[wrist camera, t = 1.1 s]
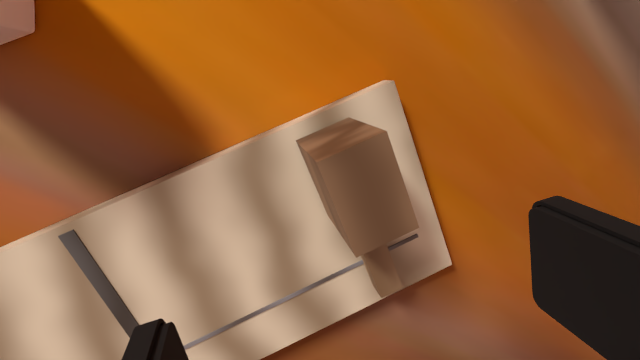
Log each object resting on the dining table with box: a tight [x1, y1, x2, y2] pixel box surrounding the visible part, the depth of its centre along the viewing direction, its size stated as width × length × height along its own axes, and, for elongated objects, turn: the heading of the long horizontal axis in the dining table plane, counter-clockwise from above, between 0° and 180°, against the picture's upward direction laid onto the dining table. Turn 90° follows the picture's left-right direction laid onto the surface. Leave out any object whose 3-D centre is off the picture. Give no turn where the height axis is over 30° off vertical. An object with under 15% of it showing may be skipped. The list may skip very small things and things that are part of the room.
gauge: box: [296, 117, 419, 298], centre depth 25 cm, size 4×13×7 cm, turn 23°
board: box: [0, 80, 452, 360], centre depth 29 cm, size 36×16×2 cm, turn 113°
